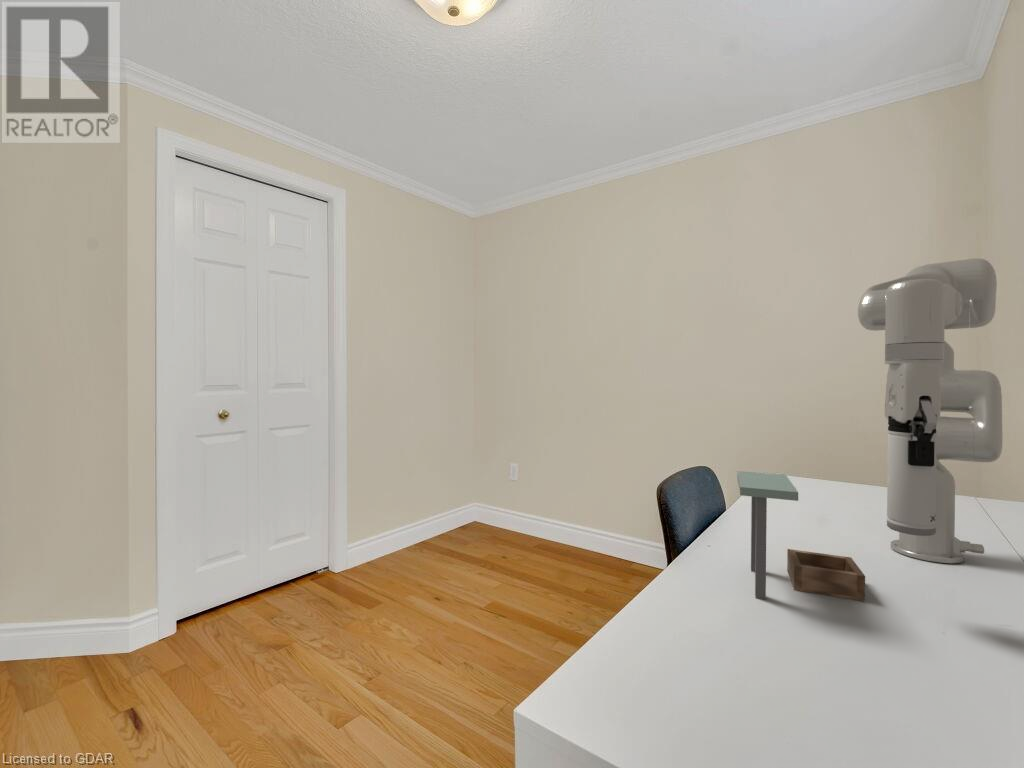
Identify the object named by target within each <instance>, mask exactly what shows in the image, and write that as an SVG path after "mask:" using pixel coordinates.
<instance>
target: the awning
mask: <svg viewBox="0 0 1024 768" xmlns="http://www.w3.org/2000/svg"><path fill="white" fill-rule="evenodd" d="M736 472H737V473H736V478H737V484H738V491H739V495H740V496H743V497H751V507H750V508H751V509H750V511H751V512H750V515H751V517H750V518H751V520H750V522H751V523H750V529H751V530H750V532H751V533H750V572H752V571H754V572H753V573H754V576H755V577H754V579H755V580H754V598H756V599H761V600H765V601H766V599H767V587H766V585H767V517H768V515H767V507H768V506H767V505H768V504H767V503H768V502H767V501H768V500H767V499H774V500H775V499H776V500H787V501H796V502H797V501H798V502H799V491H798V489H797V488H796V487H795V486H794V484H793V482H792V481H791V480H790V478H789V477H788V476H787V474H778V473H766V472H753V471H752V472H751V471H741V470H738V471H736Z"/></svg>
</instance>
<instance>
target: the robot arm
mask: <svg viewBox="0 0 1024 768" xmlns="http://www.w3.org/2000/svg"><path fill="white" fill-rule="evenodd" d="M996 274H997V273H996V270H995V269H994V266H993V265H992V264H991V263H990V262H989V261H988V260H986V259H984V258H979V257H977V258H968V259H960V260H952V261H945V262H935V263H929V264H923V265H921V266H920V265H919V266H917V267H915V268H912V269H911V270H910V271H909V272H907V274H906V275H905V276H902V277H899V278H896V279H892V280H889V281H884V282H880V283H878V284H874V285H872V286H870V287H868V288H867V289H866V290H865V291H864V292H863V294H862V296H861V297H860V299H859V302H858V307H857V317H858V321H859V323H860V324H861V326H862V328H864V329H865V330H869V331H876V332H877V331H884V365H888V369H887V375H886V383H885V396H884V397H885V399H884V401H885V402H884V417H885V418H886V419H887V420H888V416H891V418H892V419H895V420H896V421H897V422H899V423H906V422H907V420H909V430H910V437H911V440H908V464H909V465H912V466H928V467H932V466H934V442H935V437H936V438H937V455H936V523H935V525H936V533H935V534H934V535H932V536H917V535H910V534H905V533H901V532H898V536H899V537H898V539H894V540H891V541H890V548H891V549H892V550H893V551H894V552H897V553H899V554H901V555H904V556H908V557H911V558H914V559H917V560H923V561H927V562H932V563H938V564H939V563H942V564H959V563H963V562H964V561H965V555H964V554H965V553H966V552H970V553H973V554H984V553H985V547H984V545H983V544H979V543H971V541H967V540H960V539H959V538H957V537H956V536H955V534H956V533H955V529H956V528H955V527H956V526H955V524H956V523H955V521H956V518H955V517H956V481H955V478H954V475H953V474H952V473H951V471H950V470H948V468H947V467H946V466H944V464H942V463H941V462H940V460H944V461H945V460H949V461H951V460H952V461H960V462H961V461H962V462H971V463H992V462H996V461H997V460H998V459H999V458H1000V456H1001V455H1002V452H1003V439H1004V438H1003V398H1002V397H1003V395H1002V388H1001V382H1000V380H999V378H998V377H997V376H996V374H994V373H993V372H990V371H987V370H981V369H979V370H978V369H976V370H975V369H969V370H968V369H965V370H964V369H961V370H960V369H959V370H957V369H955V364H954V363H955V352H954V349H953V347H952V346H951V345H950V344H949V343H948V341H946V340H945V330H958V329H960V330H962V329H975V328H981V327H985V326H987V325H988V324H990V323H991V322H992V320H993V319H994V317H995V313H996V304H997V303H996V299H997V286H998V285H997V283H998V282H997V275H996ZM943 412H945V413H947V412H948V413H966V414H969V415H970V416H972V417H957V416H956V417H955V416H954V417H953V416H952V417H951V416H941V413H943ZM913 418H923V421H914V419H913ZM916 426H917V427H918V430H917V431H916ZM935 426H936V427H935ZM935 429H936V430H935ZM935 431H936V433H937V436H935V434H934V432H935Z"/></svg>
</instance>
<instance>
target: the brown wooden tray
mask: <svg viewBox="0 0 1024 768" xmlns="http://www.w3.org/2000/svg"><path fill="white" fill-rule="evenodd" d="M786 554H787V556H786V557H787V563H786V564H787V567H786V568H787V569H786V570H787V574H788V577H789V579H790V581H791V585H792V587H793V590H794V591H800V592H807V593H811V594H818V595H823V596H830V597H831V596H832V597H835V598H836V597H837V598H843V599H848V600H854V601H861V602H866V575H865V574H864V572H863V571H862V570H861V569H860V568H859V566H858V564H857V563H856V561H855V560H854V559H853V558H852V557H850V556H843V555H836V554H830V553H819V552H815V551H814V552H813V551H812V552H811V551H806V550H799V549H792V548H787V553H786Z"/></svg>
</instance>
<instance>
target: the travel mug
mask: <svg viewBox="0 0 1024 768" xmlns="http://www.w3.org/2000/svg"><path fill="white" fill-rule="evenodd" d="M913 419H914V421H923V418H913ZM887 425H888V427H887V457H886V458H887V465H886V466H887V471H886V472H887V474H886V475H887V477H886V478H887V479H886V480H887V482H886V483H887V484H886V490H887V491H886V505H887V506H886V526H887V528H889V529H890V530H892V531H895V532H898V533H899V532H901V533H905V534H910V535H917V536H932V535H934V534H935V533H936V525H935V523H936V455H937V438H936V437H935V442H934V466H932V467H928V466H912V465H909V464H908V440H911V437H910V430H909V420H907V422H906V423H899V422H897V421H896V420H895V419H892V418H891V416H888V419H887ZM935 427H936V426H935ZM917 430H918V427H917V426H916V431H917ZM935 430H936V429H935ZM934 434H935V436H937V433H936V431H935V432H934Z"/></svg>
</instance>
